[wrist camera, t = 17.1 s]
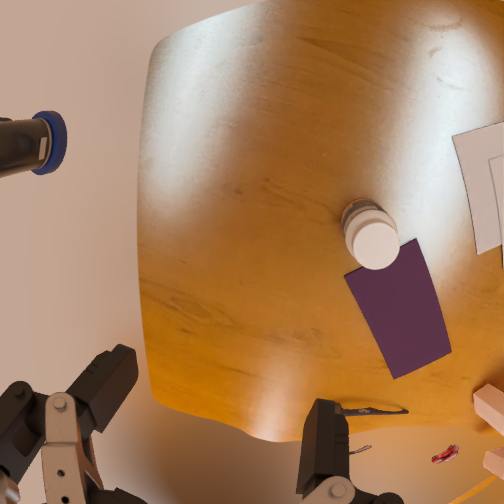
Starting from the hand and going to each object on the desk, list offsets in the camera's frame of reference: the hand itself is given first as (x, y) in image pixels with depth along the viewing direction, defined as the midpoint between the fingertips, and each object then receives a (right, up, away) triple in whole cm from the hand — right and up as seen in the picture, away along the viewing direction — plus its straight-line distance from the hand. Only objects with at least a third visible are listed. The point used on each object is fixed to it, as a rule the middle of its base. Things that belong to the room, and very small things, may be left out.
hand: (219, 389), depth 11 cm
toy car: (+50, -45, +36) cm, 76 cm away
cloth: (+24, -4, +26) cm, 36 cm away
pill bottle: (+15, +10, +23) cm, 29 cm away
